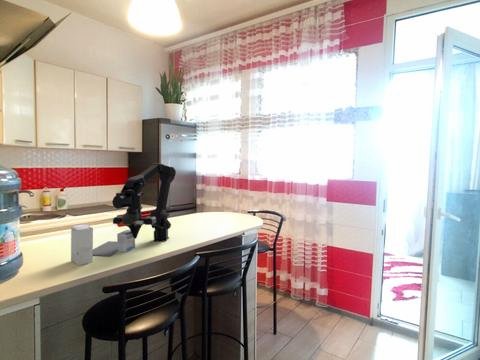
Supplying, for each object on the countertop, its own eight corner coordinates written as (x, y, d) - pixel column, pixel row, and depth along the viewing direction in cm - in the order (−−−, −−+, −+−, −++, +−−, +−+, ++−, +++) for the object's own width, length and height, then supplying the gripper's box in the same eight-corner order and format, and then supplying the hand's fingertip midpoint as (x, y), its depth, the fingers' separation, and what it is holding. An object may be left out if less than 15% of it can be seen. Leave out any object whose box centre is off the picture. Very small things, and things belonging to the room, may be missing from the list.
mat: (131, 243, 145) (131, 242, 145) (109, 256, 125) (109, 255, 125) (108, 242, 146) (108, 241, 146) (83, 255, 126) (83, 254, 126)
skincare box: (70, 261, 119) (69, 226, 118) (86, 257, 124) (84, 223, 123) (78, 266, 114) (77, 229, 113) (94, 261, 118) (93, 226, 117)
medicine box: (126, 252, 130) (125, 233, 130) (117, 251, 131) (116, 233, 131) (135, 247, 138) (135, 229, 138) (127, 246, 139) (126, 229, 138)
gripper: (105, 207, 126) (106, 242, 127) (147, 208, 124) (147, 243, 125) (118, 204, 137) (119, 236, 138) (156, 204, 135) (156, 237, 136)
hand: (135, 238), depth 134 cm, fingers closed
